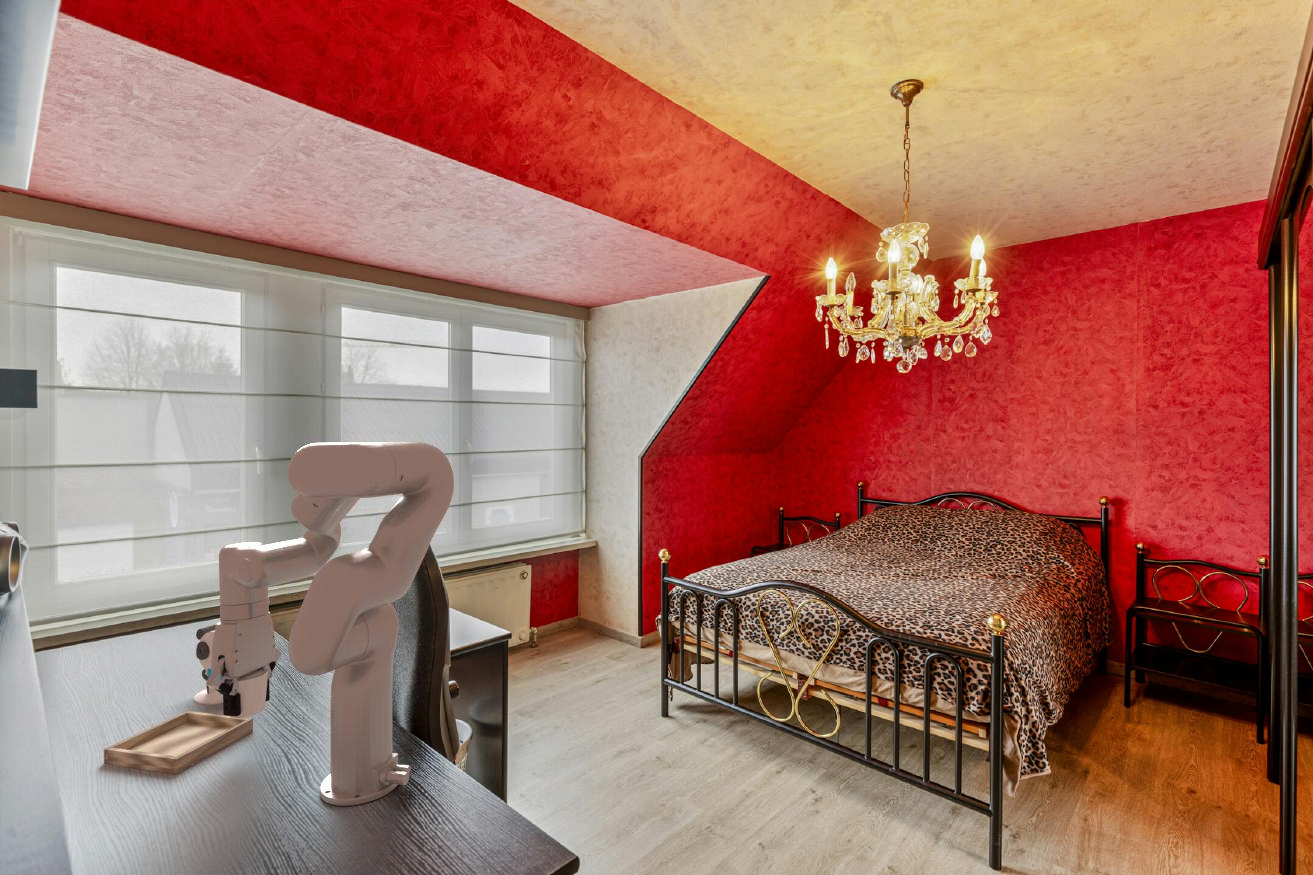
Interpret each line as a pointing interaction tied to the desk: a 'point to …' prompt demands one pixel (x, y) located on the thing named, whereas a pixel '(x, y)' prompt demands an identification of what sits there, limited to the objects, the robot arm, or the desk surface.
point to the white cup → (252, 692)
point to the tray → (178, 742)
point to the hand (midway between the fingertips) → (247, 706)
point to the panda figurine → (206, 665)
